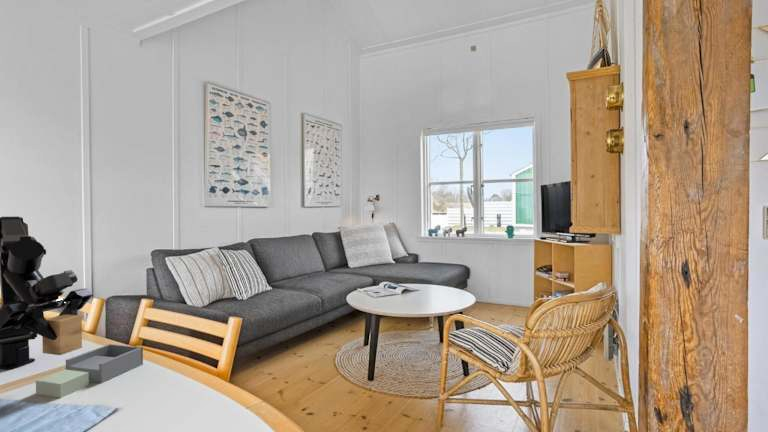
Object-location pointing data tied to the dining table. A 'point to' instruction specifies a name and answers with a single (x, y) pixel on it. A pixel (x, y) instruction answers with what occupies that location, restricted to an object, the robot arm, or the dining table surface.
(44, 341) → the oak pillar
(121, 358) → the tray
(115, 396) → the dining table surface
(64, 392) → the step
